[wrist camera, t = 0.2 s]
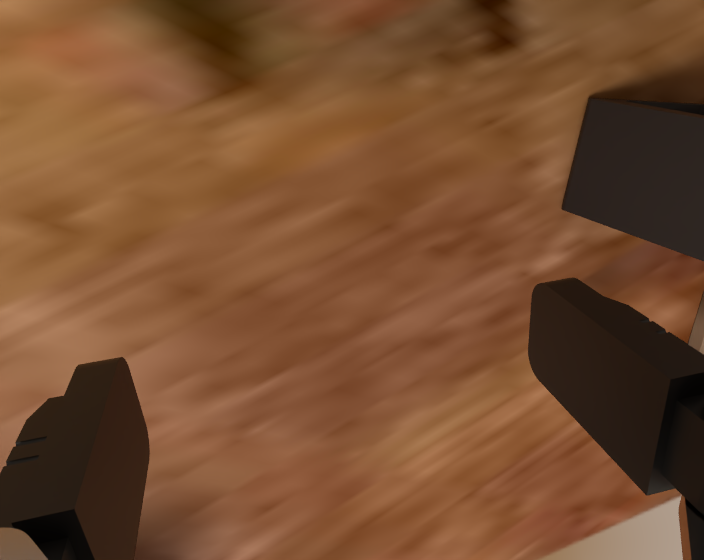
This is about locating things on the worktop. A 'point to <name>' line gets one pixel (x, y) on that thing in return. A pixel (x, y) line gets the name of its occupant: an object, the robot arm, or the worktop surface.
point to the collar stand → (698, 330)
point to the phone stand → (642, 171)
